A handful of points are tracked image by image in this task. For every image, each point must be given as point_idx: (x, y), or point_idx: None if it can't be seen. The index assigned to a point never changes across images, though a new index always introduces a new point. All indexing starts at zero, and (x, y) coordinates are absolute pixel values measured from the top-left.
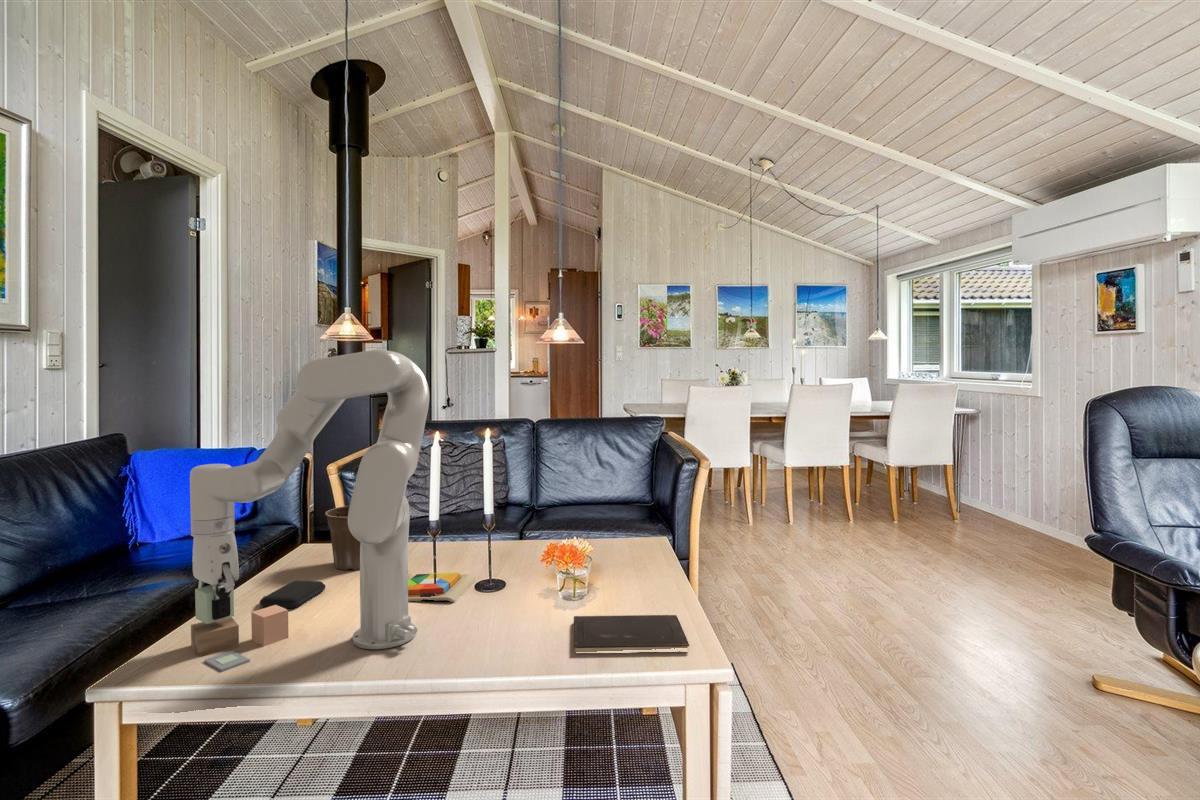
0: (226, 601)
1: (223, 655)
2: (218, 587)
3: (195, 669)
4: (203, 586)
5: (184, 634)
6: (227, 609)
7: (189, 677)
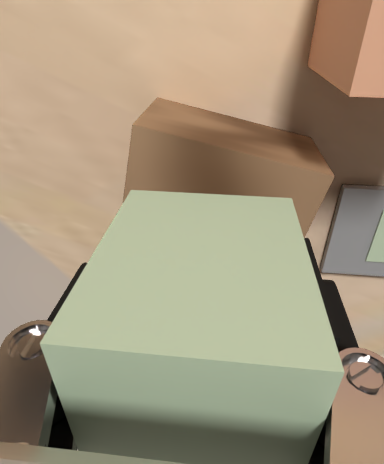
0: (352, 346)
1: (357, 227)
2: (207, 423)
3: (346, 300)
4: (72, 447)
5: (5, 195)
6: (336, 292)
7: (380, 327)
